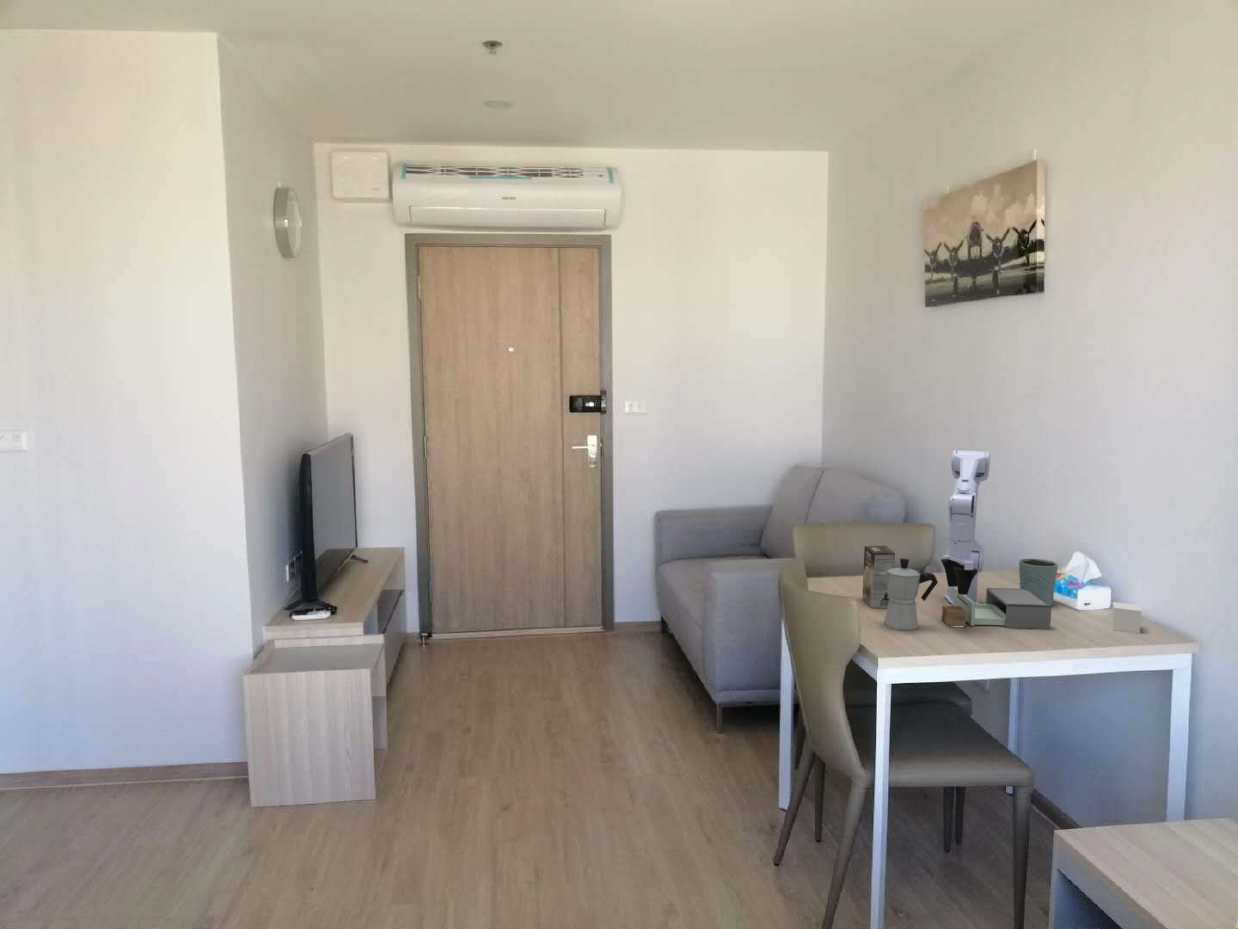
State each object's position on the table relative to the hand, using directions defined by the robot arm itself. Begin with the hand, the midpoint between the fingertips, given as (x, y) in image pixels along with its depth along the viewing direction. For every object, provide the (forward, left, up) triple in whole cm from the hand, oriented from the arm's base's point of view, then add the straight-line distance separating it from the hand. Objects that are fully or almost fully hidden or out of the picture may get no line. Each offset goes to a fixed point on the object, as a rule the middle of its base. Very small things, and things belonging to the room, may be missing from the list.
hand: (957, 590), depth 219 cm
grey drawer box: (-7, +17, -9) cm, 21 cm away
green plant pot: (-24, +29, -10) cm, 39 cm away
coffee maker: (+2, -13, -10) cm, 17 cm away
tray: (-7, +9, -9) cm, 15 cm away
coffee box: (-18, -17, -10) cm, 26 cm away
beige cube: (-2, +43, -10) cm, 45 cm away
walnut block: (0, -1, -10) cm, 10 cm away
